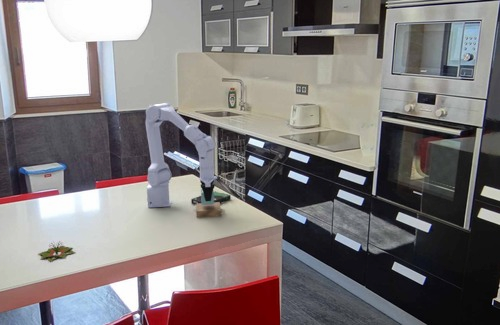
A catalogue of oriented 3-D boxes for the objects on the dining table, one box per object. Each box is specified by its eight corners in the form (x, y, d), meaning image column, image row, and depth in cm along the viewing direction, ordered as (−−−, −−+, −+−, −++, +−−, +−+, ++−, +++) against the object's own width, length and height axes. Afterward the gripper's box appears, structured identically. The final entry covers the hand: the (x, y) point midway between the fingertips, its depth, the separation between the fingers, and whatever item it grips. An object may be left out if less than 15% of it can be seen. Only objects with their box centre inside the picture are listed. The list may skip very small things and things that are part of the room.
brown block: (196, 218, 184) (196, 211, 183) (196, 210, 193) (196, 203, 193) (221, 217, 185) (221, 210, 184) (219, 208, 195) (219, 202, 194)
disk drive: (207, 210, 194) (231, 200, 205) (207, 203, 193) (231, 194, 204) (191, 205, 201) (214, 196, 212) (190, 199, 200) (214, 190, 211)
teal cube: (201, 204, 185) (201, 192, 184) (201, 200, 190) (200, 189, 189) (214, 203, 186) (213, 192, 185) (213, 200, 191) (213, 188, 190)
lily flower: (65, 244, 161) (64, 232, 160) (82, 254, 153) (81, 241, 152) (31, 256, 152) (29, 243, 151) (47, 266, 145) (45, 253, 144)
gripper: (217, 170, 178) (218, 203, 181) (215, 162, 192) (216, 193, 195) (199, 171, 177) (200, 205, 180) (198, 162, 191) (200, 193, 194)
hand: (207, 198), depth 188 cm, fingers closed on teal cube, 5 cm apart
